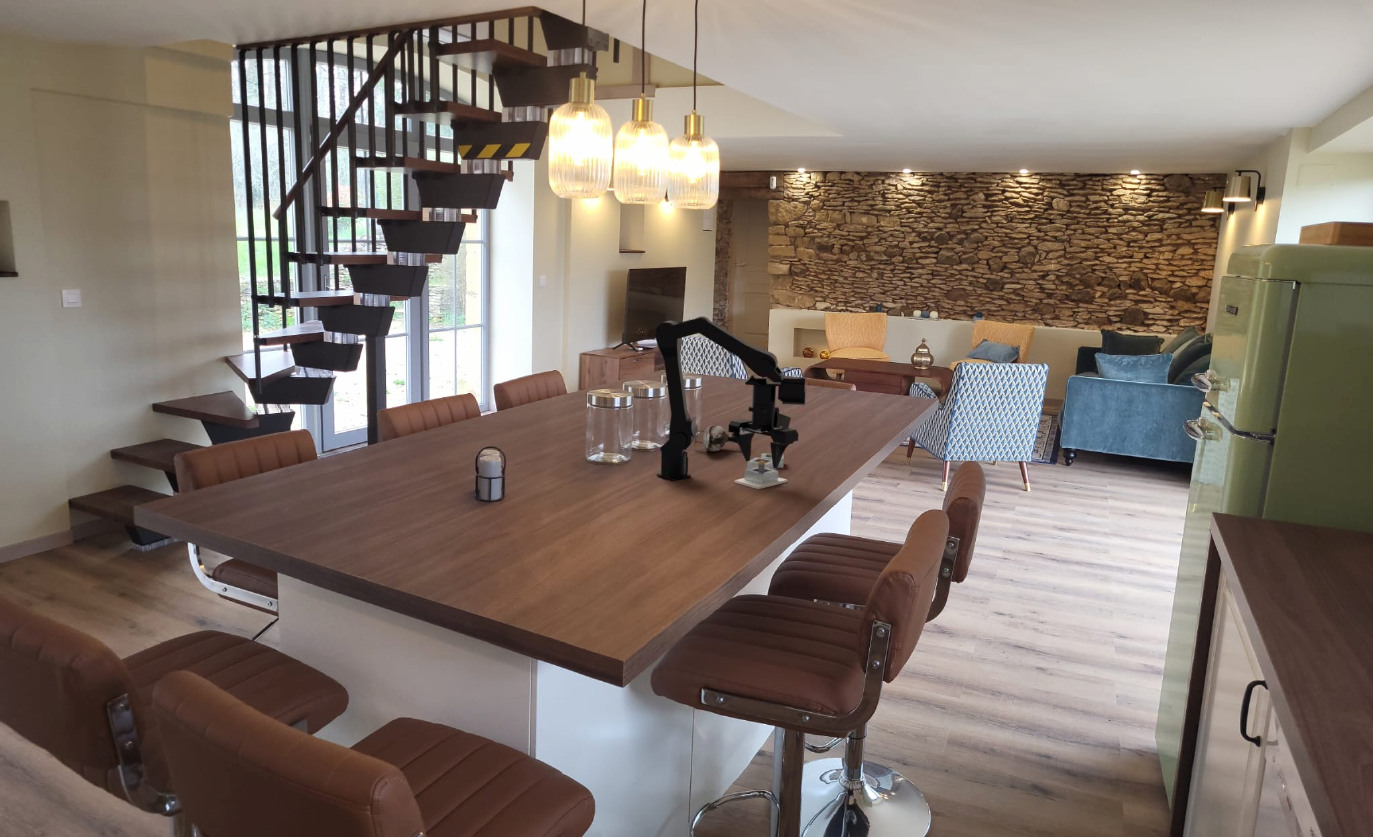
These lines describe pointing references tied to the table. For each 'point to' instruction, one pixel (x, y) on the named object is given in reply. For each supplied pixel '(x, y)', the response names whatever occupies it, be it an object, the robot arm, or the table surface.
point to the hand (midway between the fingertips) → (761, 464)
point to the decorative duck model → (715, 438)
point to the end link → (761, 475)
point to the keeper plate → (756, 485)
